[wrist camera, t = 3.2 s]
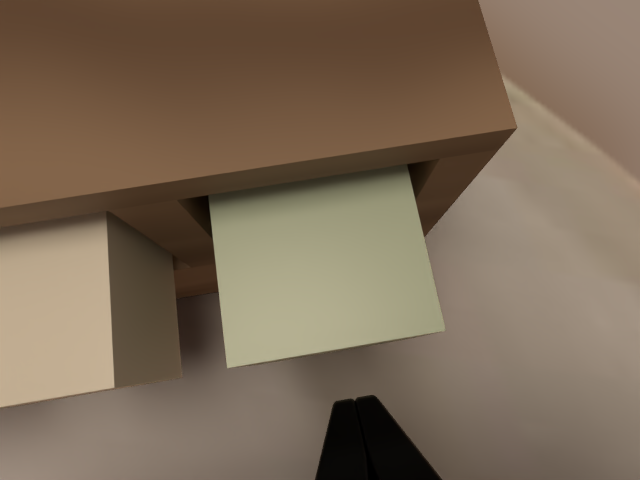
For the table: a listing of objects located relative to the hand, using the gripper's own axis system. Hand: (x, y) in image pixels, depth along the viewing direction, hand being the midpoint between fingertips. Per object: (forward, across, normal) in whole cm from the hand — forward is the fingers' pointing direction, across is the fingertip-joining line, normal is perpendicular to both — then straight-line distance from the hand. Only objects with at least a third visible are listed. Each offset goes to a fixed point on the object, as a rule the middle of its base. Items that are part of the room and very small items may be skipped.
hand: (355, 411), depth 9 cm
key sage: (+5, 0, -1) cm, 5 cm away
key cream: (+5, +6, -1) cm, 8 cm away
